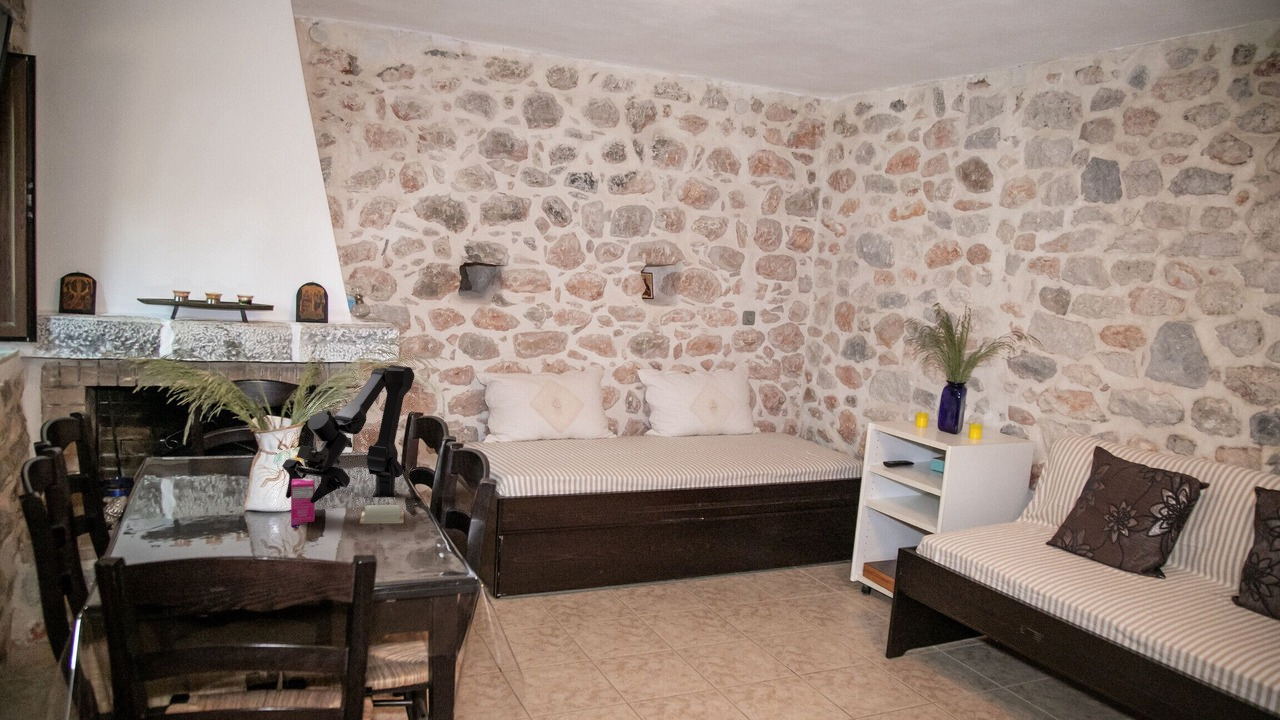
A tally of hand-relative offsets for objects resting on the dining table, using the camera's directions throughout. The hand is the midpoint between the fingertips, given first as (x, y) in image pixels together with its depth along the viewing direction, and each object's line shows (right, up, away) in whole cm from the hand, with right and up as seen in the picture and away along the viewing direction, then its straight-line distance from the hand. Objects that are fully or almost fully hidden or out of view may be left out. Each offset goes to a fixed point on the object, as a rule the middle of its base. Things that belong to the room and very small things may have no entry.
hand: (299, 500), depth 216 cm
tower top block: (+19, -6, +8) cm, 22 cm away
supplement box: (0, -7, +2) cm, 7 cm away
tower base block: (+19, -8, +8) cm, 22 cm away
